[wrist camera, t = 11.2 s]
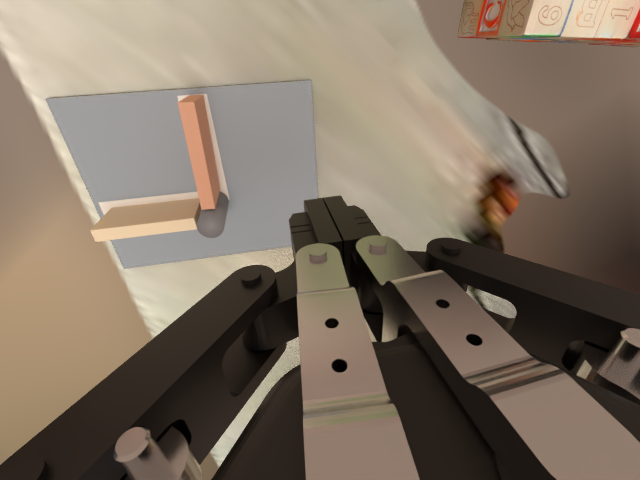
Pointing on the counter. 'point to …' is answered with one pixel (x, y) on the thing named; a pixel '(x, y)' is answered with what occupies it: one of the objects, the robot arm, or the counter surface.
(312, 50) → the counter surface
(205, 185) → the salmon long narrow block
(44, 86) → the counter surface
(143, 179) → the slate board
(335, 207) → the robot arm
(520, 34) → the stack of blocks
